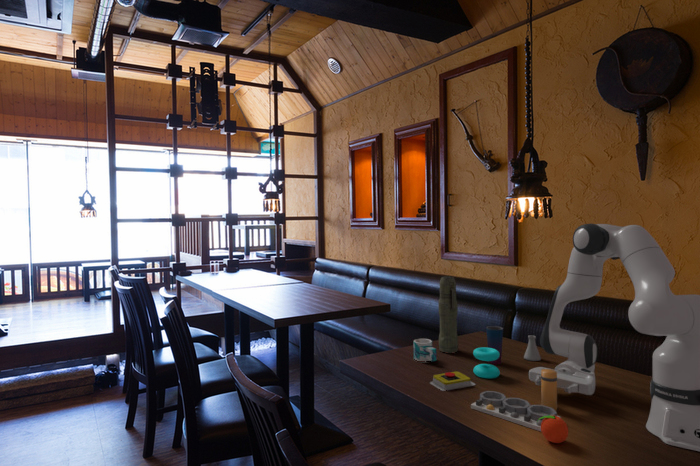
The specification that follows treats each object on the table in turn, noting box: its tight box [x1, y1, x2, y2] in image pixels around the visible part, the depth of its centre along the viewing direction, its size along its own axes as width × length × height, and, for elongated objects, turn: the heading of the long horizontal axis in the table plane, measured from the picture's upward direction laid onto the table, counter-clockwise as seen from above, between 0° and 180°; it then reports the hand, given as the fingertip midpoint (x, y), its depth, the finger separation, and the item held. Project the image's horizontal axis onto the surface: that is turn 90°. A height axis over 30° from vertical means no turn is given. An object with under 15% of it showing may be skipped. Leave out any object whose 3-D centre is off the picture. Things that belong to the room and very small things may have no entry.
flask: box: [523, 335, 542, 362], centre depth 191 cm, size 7×7×10 cm
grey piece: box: [470, 390, 562, 433], centre depth 137 cm, size 24×11×3 cm, turn 43°
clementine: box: [537, 415, 569, 444], centre depth 120 cm, size 8×7×7 cm
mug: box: [413, 338, 437, 363], centre depth 191 cm, size 8×12×8 cm
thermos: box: [437, 275, 459, 353], centre depth 205 cm, size 9×12×35 cm
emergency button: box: [429, 370, 476, 392], centre depth 163 cm, size 9×4×15 cm
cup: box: [485, 325, 504, 366], centre depth 187 cm, size 7×7×15 cm
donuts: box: [472, 346, 501, 379], centre depth 172 cm, size 10×10×10 cm
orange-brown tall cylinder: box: [540, 368, 558, 412], centre depth 141 cm, size 5×5×12 cm
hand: (551, 386), depth 142 cm, fingers open, 8 cm apart
